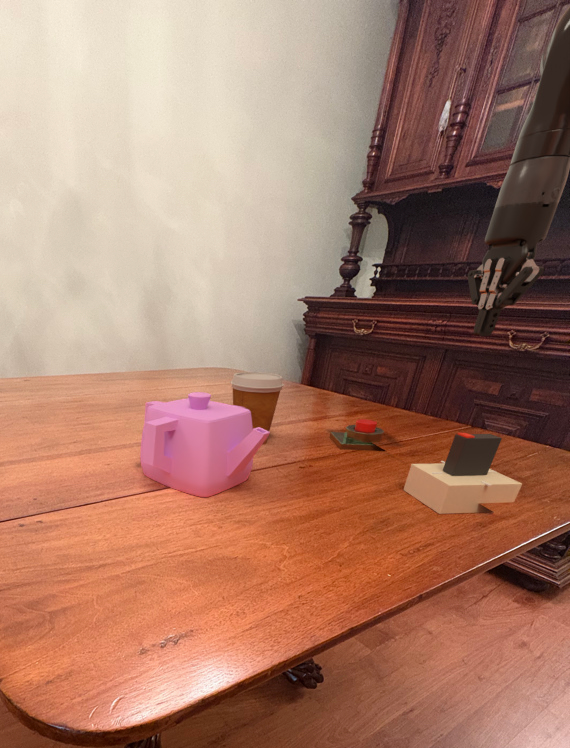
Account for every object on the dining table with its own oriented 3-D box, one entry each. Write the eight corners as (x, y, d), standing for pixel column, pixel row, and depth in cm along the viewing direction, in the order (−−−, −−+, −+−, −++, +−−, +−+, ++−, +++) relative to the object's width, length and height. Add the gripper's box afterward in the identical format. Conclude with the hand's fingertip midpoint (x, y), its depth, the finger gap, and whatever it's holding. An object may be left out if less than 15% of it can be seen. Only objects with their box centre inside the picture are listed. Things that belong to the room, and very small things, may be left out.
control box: (463, 486, 63) (474, 460, 61) (513, 513, 56) (527, 484, 53) (400, 488, 63) (409, 461, 60) (442, 516, 55) (453, 486, 53)
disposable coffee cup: (258, 432, 87) (266, 370, 81) (284, 446, 80) (295, 378, 74) (216, 436, 85) (222, 372, 79) (240, 450, 77) (247, 381, 71)
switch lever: (475, 469, 58) (491, 431, 56) (487, 475, 56) (503, 436, 54) (442, 470, 58) (455, 432, 55) (452, 475, 56) (466, 436, 53)
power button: (371, 428, 82) (373, 419, 81) (377, 433, 78) (380, 424, 78) (351, 428, 82) (354, 418, 81) (357, 433, 79) (359, 423, 78)
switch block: (380, 439, 84) (384, 424, 83) (395, 452, 78) (400, 436, 76) (329, 437, 85) (332, 422, 84) (339, 449, 78) (343, 433, 77)
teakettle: (141, 458, 72) (140, 382, 66) (240, 459, 73) (248, 383, 67) (138, 499, 58) (136, 406, 51) (262, 500, 58) (275, 407, 52)
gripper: (469, 211, 67) (435, 332, 76) (540, 194, 56) (489, 339, 64) (514, 211, 68) (474, 332, 76) (593, 194, 56) (536, 338, 65)
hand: (481, 335), depth 70 cm, fingers closed
